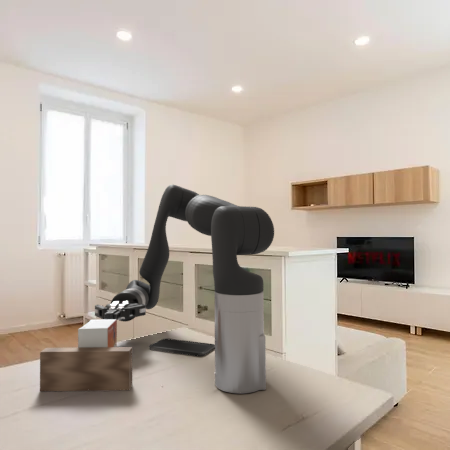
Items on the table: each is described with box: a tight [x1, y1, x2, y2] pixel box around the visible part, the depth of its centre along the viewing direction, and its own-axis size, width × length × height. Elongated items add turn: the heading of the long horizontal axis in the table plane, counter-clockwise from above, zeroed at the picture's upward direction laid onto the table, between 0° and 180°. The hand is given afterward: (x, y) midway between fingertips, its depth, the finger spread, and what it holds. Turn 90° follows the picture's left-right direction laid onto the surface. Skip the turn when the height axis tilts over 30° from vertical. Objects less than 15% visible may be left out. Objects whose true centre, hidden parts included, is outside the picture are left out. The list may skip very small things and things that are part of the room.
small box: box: [77, 318, 118, 348], centre depth 73 cm, size 8×6×10 cm
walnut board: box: [39, 346, 133, 392], centre depth 68 cm, size 16×2×7 cm, turn 91°
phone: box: [148, 337, 215, 357], centre depth 91 cm, size 8×1×15 cm
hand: (109, 317), depth 81 cm, fingers closed
